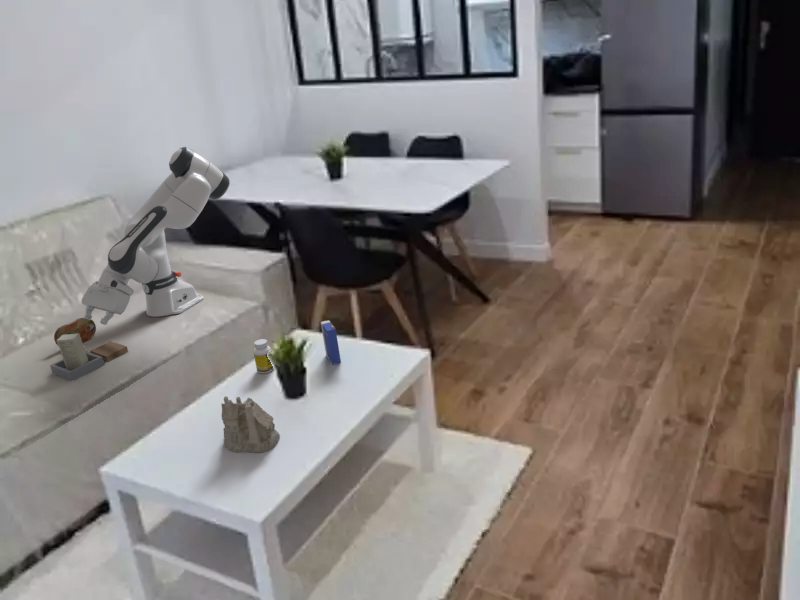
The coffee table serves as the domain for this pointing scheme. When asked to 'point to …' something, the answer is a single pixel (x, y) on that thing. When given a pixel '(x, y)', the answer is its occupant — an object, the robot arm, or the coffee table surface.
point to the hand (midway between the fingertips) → (94, 321)
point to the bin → (71, 375)
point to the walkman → (330, 342)
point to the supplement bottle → (262, 356)
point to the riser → (110, 350)
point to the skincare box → (72, 351)
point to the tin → (77, 329)
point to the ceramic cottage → (248, 427)
